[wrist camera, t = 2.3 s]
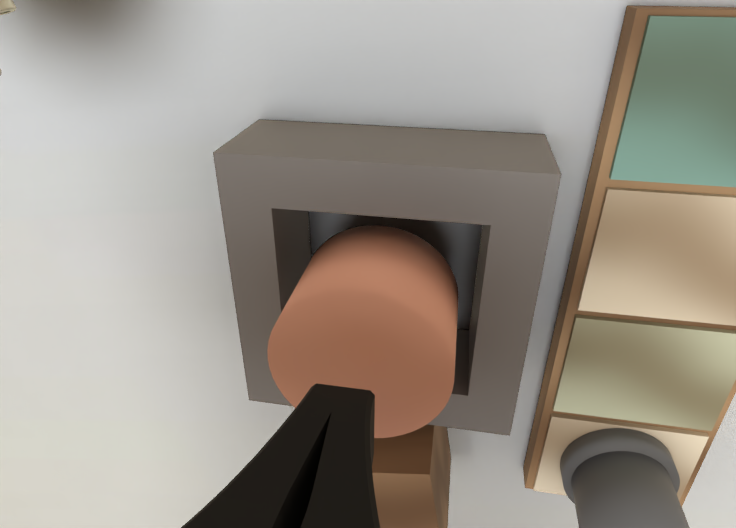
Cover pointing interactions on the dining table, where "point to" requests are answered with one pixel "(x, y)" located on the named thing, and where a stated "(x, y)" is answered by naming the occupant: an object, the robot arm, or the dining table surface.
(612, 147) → the track board
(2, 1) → the pneumatic valve
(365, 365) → the plunger
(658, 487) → the pawn
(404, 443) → the die
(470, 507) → the dining table surface
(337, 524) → the robot arm
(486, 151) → the frame
